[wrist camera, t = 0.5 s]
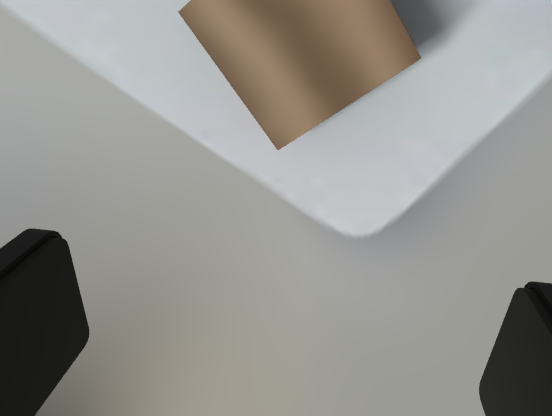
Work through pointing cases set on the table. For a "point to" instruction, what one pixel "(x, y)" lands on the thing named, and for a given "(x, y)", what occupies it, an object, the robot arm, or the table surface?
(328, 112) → the walnut base
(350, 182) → the table surface
